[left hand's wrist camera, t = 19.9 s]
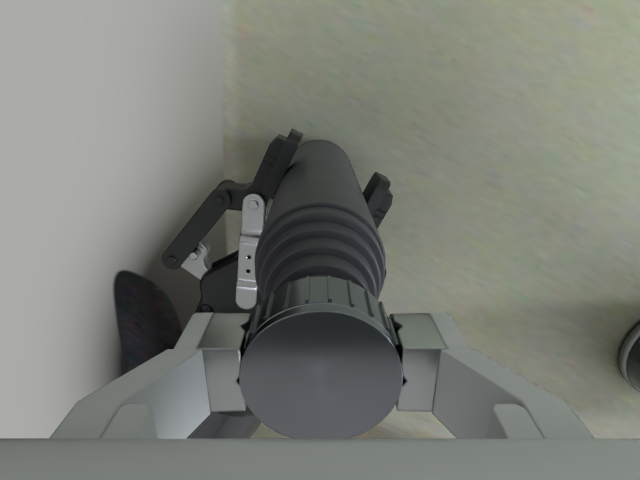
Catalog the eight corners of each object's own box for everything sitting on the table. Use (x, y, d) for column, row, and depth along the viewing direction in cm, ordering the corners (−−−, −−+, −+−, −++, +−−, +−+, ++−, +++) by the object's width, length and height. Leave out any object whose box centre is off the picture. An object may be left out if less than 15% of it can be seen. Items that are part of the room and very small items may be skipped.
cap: (250, 266, 10) (237, 300, 8) (406, 280, 10) (421, 317, 8) (245, 389, 11) (233, 437, 10) (381, 400, 11) (390, 450, 10)
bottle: (364, 160, 29) (464, 333, 9) (331, 215, 30) (355, 465, 11) (305, 127, 28) (276, 238, 8) (275, 185, 29) (187, 397, 10)
